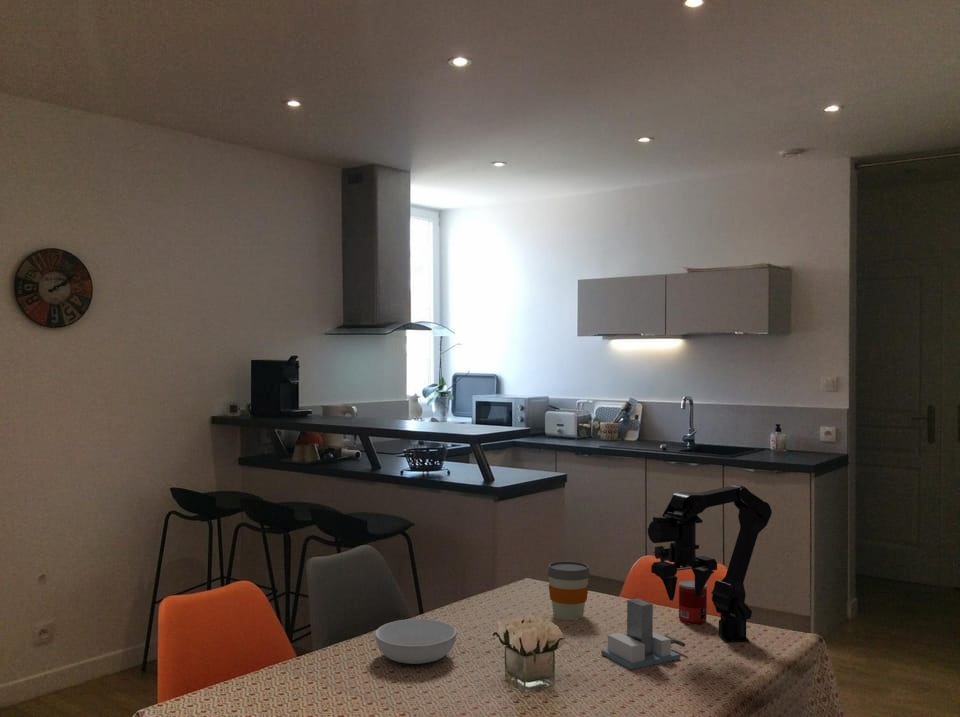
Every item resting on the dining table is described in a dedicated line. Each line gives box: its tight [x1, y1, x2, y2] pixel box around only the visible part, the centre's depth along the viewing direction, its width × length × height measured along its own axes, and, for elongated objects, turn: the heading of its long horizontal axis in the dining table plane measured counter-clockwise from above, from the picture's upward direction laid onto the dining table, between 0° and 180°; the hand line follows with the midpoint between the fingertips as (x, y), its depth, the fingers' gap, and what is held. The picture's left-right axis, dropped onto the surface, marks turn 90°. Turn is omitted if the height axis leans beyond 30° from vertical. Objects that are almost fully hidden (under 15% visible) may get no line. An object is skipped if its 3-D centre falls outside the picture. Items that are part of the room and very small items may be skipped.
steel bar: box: [626, 598, 654, 656], centre depth 213 cm, size 4×6×13 cm, turn 28°
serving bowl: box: [374, 618, 458, 665], centre depth 212 cm, size 21×21×7 cm
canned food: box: [678, 580, 708, 625], centre depth 244 cm, size 8×8×11 cm
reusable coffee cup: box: [547, 560, 591, 621], centre depth 248 cm, size 13×13×15 cm
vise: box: [601, 631, 686, 670], centre depth 214 cm, size 20×12×5 cm, turn 118°
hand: (684, 598), depth 222 cm, fingers open, 9 cm apart
